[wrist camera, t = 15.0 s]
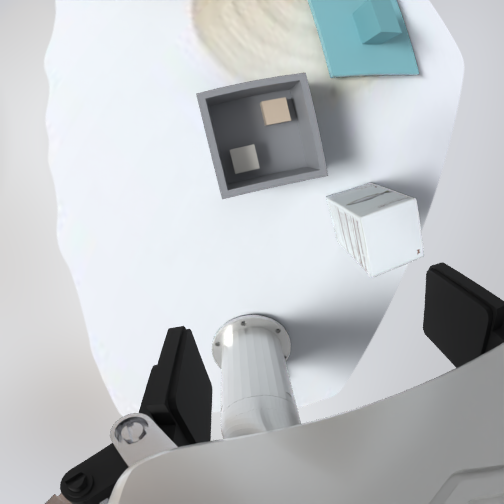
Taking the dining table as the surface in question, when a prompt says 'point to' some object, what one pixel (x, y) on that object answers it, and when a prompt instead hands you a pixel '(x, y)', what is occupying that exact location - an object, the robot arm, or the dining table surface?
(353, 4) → the lid
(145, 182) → the dining table surface
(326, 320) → the dining table surface
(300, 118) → the tub
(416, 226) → the supplement box
